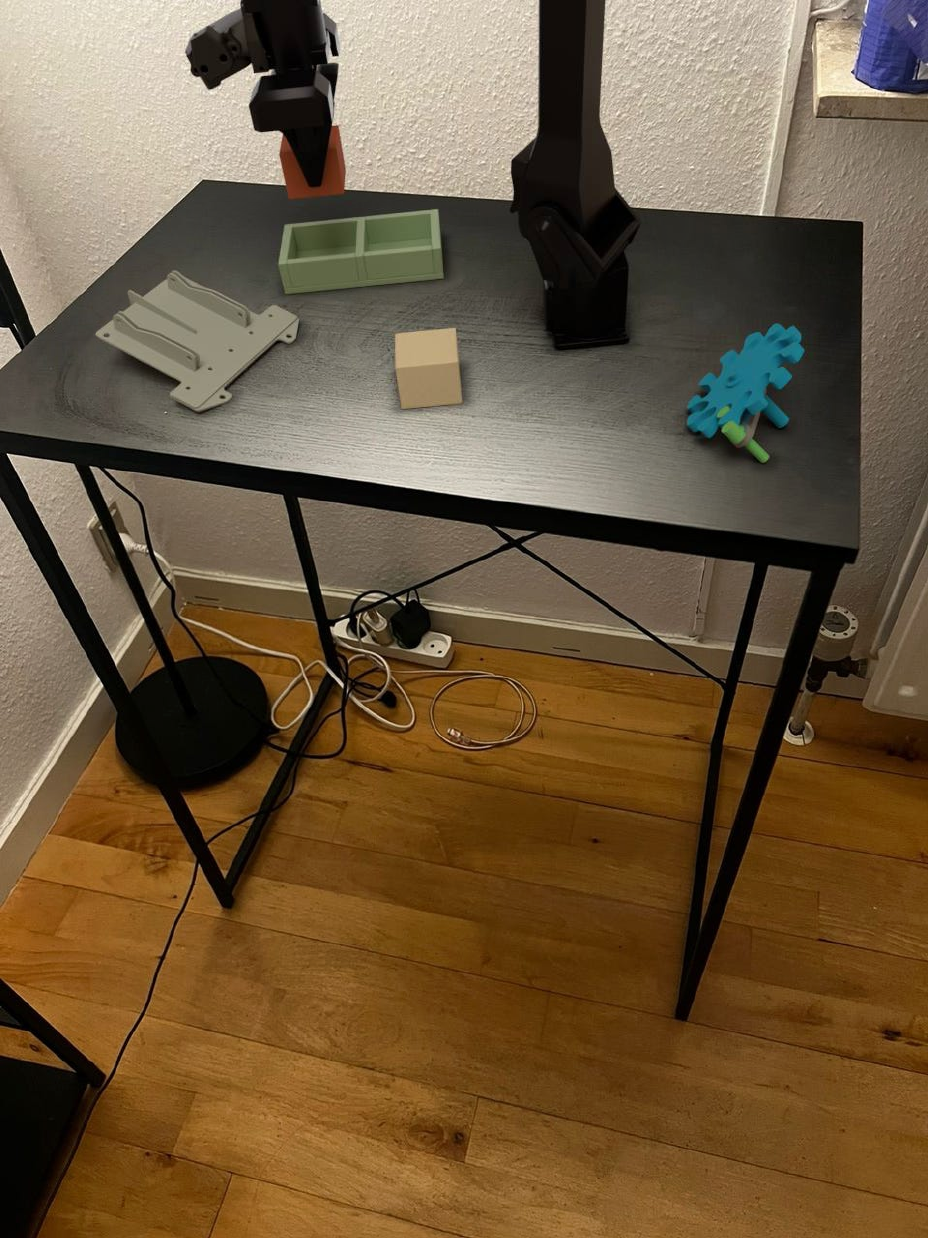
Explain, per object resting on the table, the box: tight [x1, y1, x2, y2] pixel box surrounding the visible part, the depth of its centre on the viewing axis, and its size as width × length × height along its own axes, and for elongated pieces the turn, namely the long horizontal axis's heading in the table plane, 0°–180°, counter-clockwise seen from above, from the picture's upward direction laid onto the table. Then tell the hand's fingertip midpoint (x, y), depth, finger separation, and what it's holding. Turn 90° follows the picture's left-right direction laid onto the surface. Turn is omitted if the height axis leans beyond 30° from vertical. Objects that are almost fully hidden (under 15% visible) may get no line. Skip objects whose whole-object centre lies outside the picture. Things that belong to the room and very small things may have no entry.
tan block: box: [394, 327, 463, 410], centre depth 77 cm, size 5×5×4 cm
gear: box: [686, 323, 805, 464], centre depth 70 cm, size 11×6×10 cm
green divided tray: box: [277, 208, 445, 295], centre depth 92 cm, size 15×8×3 cm, turn 93°
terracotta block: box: [278, 124, 347, 200], centre depth 84 cm, size 5×5×4 cm
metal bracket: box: [95, 270, 300, 413], centre depth 84 cm, size 14×6×15 cm
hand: (316, 173), depth 85 cm, fingers closed on terracotta block, 5 cm apart
